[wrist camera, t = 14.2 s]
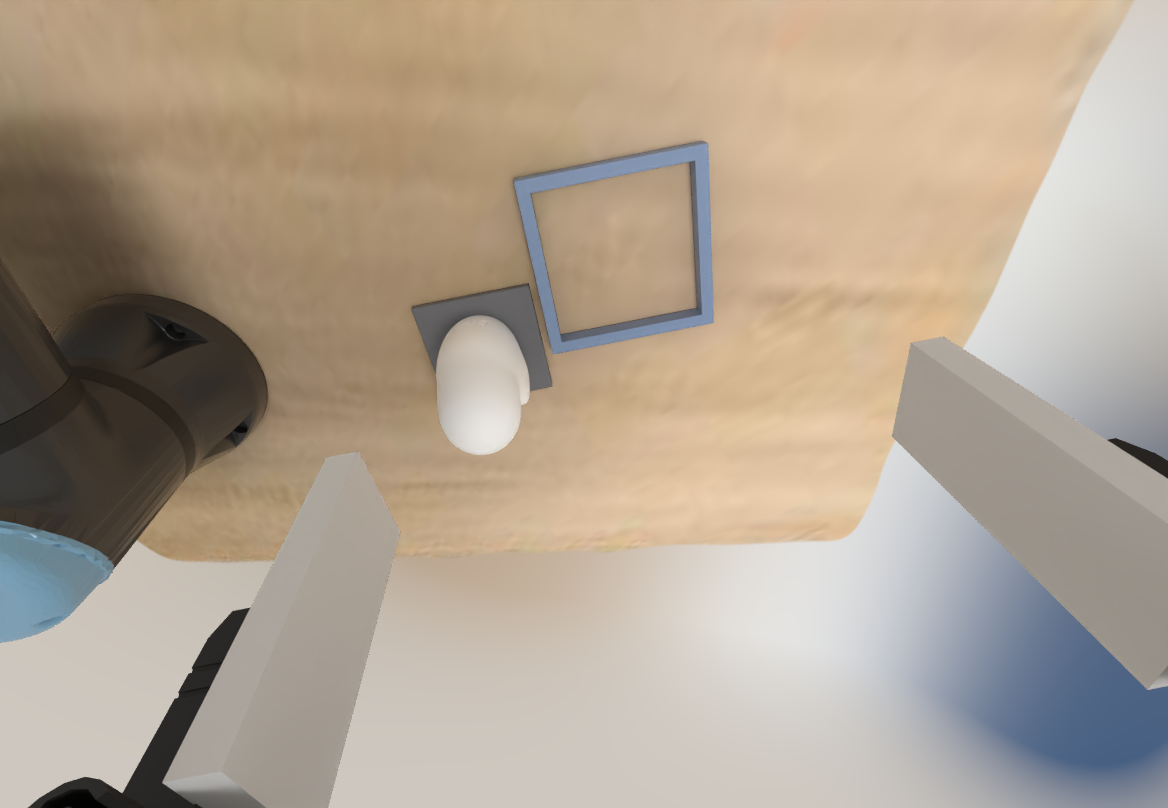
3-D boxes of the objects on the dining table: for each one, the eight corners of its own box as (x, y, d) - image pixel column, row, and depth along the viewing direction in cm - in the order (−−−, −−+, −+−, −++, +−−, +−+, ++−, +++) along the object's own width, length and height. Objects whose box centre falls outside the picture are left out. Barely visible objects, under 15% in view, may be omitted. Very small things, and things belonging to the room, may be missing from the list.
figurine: (463, 396, 48) (448, 482, 38) (427, 325, 44) (399, 400, 34) (536, 374, 48) (539, 454, 38) (506, 299, 44) (501, 368, 34)
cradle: (551, 346, 47) (552, 354, 46) (513, 178, 39) (513, 181, 38) (708, 316, 47) (713, 322, 46) (702, 140, 39) (708, 143, 38)
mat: (448, 403, 49) (448, 406, 49) (412, 306, 44) (411, 309, 43) (551, 383, 49) (552, 386, 49) (528, 283, 44) (528, 285, 43)
